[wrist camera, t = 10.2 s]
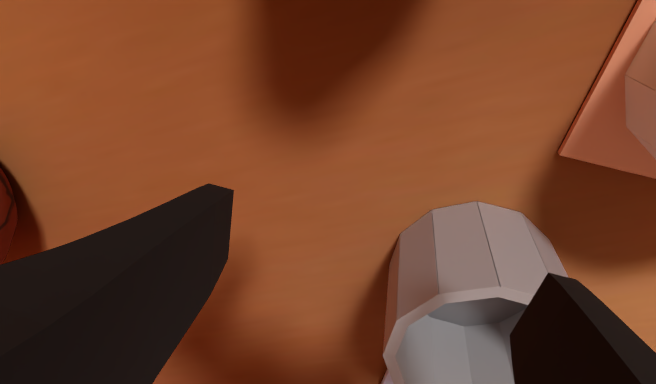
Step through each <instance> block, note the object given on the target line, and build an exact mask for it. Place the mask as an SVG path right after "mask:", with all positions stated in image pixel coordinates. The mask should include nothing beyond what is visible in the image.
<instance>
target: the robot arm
mask: <svg viewBox="0 0 656 384" xmlns="http://www.w3.org/2000/svg"><path fill="white" fill-rule="evenodd" d="M233 193H234V190H231V189H227V188H224V187H220V186H216V185H212V184H206V185H204V186H201V187H199V188H197V189H194V190H192V191H190V192H188V193H186V194H183V195H181V196H179V197H177V198H175V199H173V200H171V201H169V202H166V203H164V204H162V205H160V206H158V207H155V208H153V209H151V210H149V211H147V212H144V213H142V214H140V215H138V216H136V217H133V218H131V219H129V220H126V221H124V222H121V223H119V224H116V225H114V226H111V227H109V228H106V229H104V230H101V231H99V232H96V233H94V234H91V235H89V236H86V237H84V238H81V239H79V240H76V241H73V242H71V243H68V244H65V245H62V246H59V247H56V248H53V249H50V250H47V251H44V252H41V253H38V254H35V255H31V256H28V257H25V258H22V259H19V260H15V261H12V262H9V263H5V264H1V265H0V384H152V383H153V382H154V380H155V378H156V377H157V375H158V374H159V372H160V371H161V369H162V368H163V366H164V365H165V363H166V362H167V360H168V359H169V357H170V356H171V354H172V353H173V351H174V350H175V348H176V347H177V345H178V344H179V342H180V341H181V339H182V338H183V336H184V334H185V333H186V331H187V330H188V328H189V327H190V325H191V324H192V322H193V321H194V319H195V318H196V316H197V315H198V313H199V312H200V310H201V309H202V307H203V305H204V304H205V302H206V301H207V299H208V298H209V296H210V294H211V292H212V290H213V288H214V287H215V285H216V283H217V281H218V279H219V276H220V274H221V272H222V270H223V268H224V266H225V264H226V262H227V260H228V252H229V240H230V229H231V217H232V205H233ZM510 347H511V359H512V368H513V376H514V382H515V384H656V353H655V352H654V351H653V350H652V349H651V348H650V347H649V346H648V345H647V344H646V343H645V342H644V341H643V340H642V339H640V338H639V337H638V336H637V335H636V334H635V333H634V332H633V331H632V330H631V329H630V328H629V327H628V326H627V325H626V324H625V323H624V322H623V321H622V320H621V319H620V318H619V317H618V316H617V315H615V314H614V313H613V312H612V311H611V310H610V309H609V308H608V307H607V306H606V305H605V304H604V303H603V302H602V301H601V300H599V299H598V298H597V297H596V296H595V295H594V294H593V293H592V292H591V291H589V290H588V289H587V288H586V287H585V286H584V285H582V284H581V283H580V282H579V281H577V280H576V279H572V278H568V277H564V276H560V275H556V274H553V273H549V272H548V274H547V275H546V277H545V279H544V280H543V282H542V283H541V285H540V287H539V288H538V290H537V291H536V293H535V295H534V296H533V298H532V300H531V301H530V303H529V304H528V306H527V308H526V309H525V311H524V312H523V314H522V316H521V317H520V319H519V321H518V322H517V324H516V325H515V327H514V329H513V330H512V332H511V333H510ZM381 384H393V381H392V378H391V376H390V373H389V371H388V368H387V371H386V373H385V375H384V378H383V380H382V382H381Z"/></svg>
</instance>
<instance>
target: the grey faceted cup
mask: <svg viewBox="0 0 656 384" xmlns="http://www.w3.org/2000/svg"><path fill="white" fill-rule="evenodd" d="M548 272H549V273H553V274H556V275H560V276H564V277H568V275H567V273H566V271H565V269H564V267H563V265H562V263H561V261H560V259H559V257H558V255H557V253H556V251H555V249H554V247H553V245H552V243H551V241H550V240H549V239H548V238H547V237H546V236H545V235H544V234H543V233H542V232H541V231H540V230H539V229H538V228H537V227H536V226H535V225H534V224H533V223H532V222H531V221H530V220H529V219H528V218H527V217H526V216H525V215H524V214H522V213H521V212H518V211H514V210H510V209H506V208H502V207H498V206H494V205H490V204H486V203H482V202H478V201H477V202H476V201H475V202H470V203H465V204H459V205H454V206H449V207H443V208H438V209H433V210H431V211H429V212H428V213H427V214H425V215H424V216H423V217H422V218H420V219H419V220H418V221H416V222H415V223H414V224H412V225H411V226H410V227H408V228H407V229H406V230H405V231H403V232H402V233H401V234H400V236H399V239H398V241H397V244H396V247H395V250H394V253H393V256H392V259H391V261H390V264H389V276H388V290H387V304H386V318H385V332H384V345H383V358H384V360H385V363H386V365H387V368H388V371H389V373H390V376H391V378H392V381H393V384H515V382H514V376H513V368H512V359H511V347H510V333H511V332H512V330H513V329H514V327H515V325H516V324H517V322H518V321H519V319H520V317H521V316H522V314H523V312H524V311H525V309H526V308H527V306H528V304H529V303H530V301H531V300H532V298H533V296H534V295H535V293H536V291H537V290H538V288H539V287H540V285H541V283H542V282H543V280H544V279H545V277H546V275H547V274H548ZM568 278H569V277H568Z"/></svg>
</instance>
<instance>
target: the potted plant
mask: <svg viewBox="0 0 656 384" xmlns="http://www.w3.org/2000/svg"><path fill="white" fill-rule="evenodd" d="M16 225H17V207H16V203H15V200H14V196H13V192H12V188H11V186H10V183H9V181H8V179H7V177H6V175H5V174H4V172H3V171H2V169H1V167H0V265H1V264H2V263H3V261H4V260H5V258H6V256H7V253H8V250H9V247H10V244H11V241H12V238H13V235H14V232H15V229H16Z"/></svg>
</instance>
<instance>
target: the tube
mask: <svg viewBox="0 0 656 384" xmlns="http://www.w3.org/2000/svg"><path fill="white" fill-rule="evenodd" d="M557 153H558V154H559V155H560V156H565V157H569V158H573V159H577V160H581V161H585V162H589V163H593V164H597V165H601V166H605V167H609V168H614V169H618V170H622V171H626V172H630V173H634V174H638V175H642V176H646V177H650V178H654V179H656V0H638V1H637V3H636V5H635V7H634V8H633V10H632V12H631V14H630V16H629V18H628V20H627V22H626V24H625V25H624V27H623V29H622V31H621V33H620V35H619V37H618V39H617V41H616V42H615V44H614V46H613V48H612V50H611V52H610V54H609V56H608V58H607V60H606V61H605V63H604V65H603V67H602V69H601V71H600V73H599V75H598V77H597V78H596V80H595V82H594V84H593V86H592V88H591V90H590V92H589V94H588V95H587V97H586V99H585V101H584V103H583V105H582V107H581V109H580V111H579V112H578V114H577V116H576V118H575V120H574V122H573V124H572V126H571V128H570V130H569V131H568V133H567V135H566V137H565V139H564V141H563V143H562V145H561V147H560V148H559V150H558V152H557Z"/></svg>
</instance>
